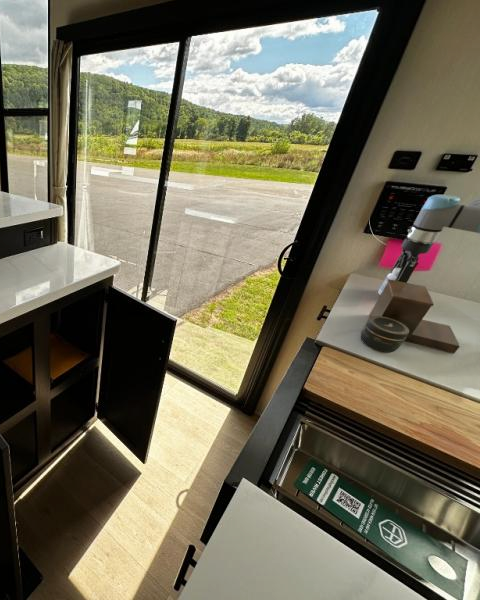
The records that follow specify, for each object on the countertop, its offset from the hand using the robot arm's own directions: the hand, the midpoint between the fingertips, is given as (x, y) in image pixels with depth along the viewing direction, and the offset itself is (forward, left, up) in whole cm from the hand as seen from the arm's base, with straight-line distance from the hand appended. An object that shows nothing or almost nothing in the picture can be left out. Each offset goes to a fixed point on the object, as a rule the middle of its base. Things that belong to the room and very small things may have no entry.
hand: (387, 294), depth 126 cm
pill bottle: (0, 0, -1) cm, 1 cm away
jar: (+6, +38, -1) cm, 38 cm away
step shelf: (-3, +26, 0) cm, 26 cm away
